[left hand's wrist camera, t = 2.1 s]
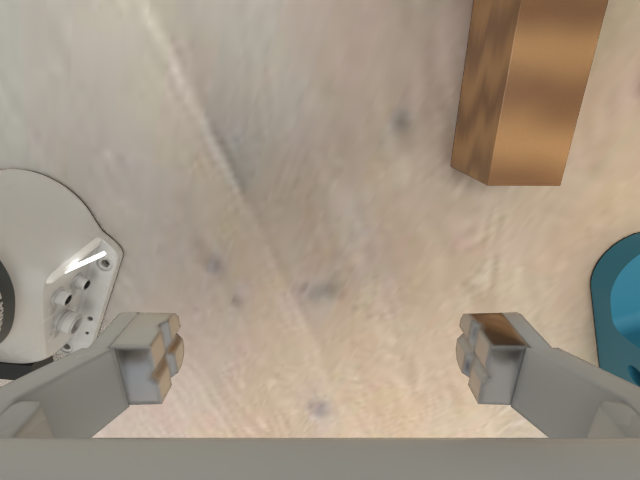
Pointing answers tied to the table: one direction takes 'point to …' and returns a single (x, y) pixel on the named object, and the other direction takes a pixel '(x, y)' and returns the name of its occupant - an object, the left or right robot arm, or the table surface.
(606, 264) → the camera mount
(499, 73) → the box
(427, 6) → the table surface
